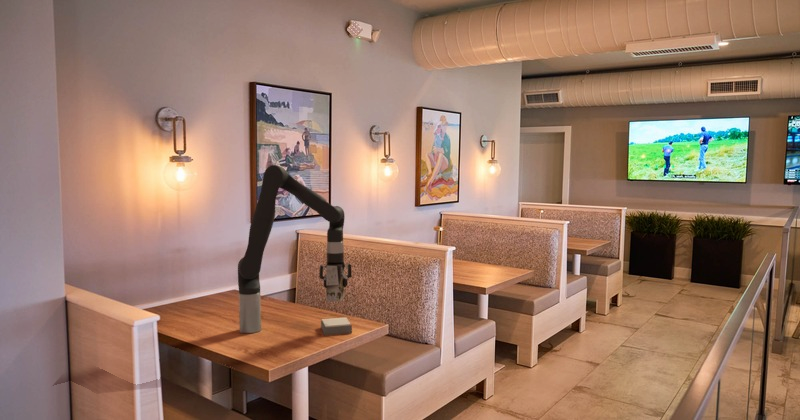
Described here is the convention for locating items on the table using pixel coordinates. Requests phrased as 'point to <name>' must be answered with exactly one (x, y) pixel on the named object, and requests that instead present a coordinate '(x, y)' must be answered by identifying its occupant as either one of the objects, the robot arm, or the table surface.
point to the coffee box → (334, 283)
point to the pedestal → (336, 326)
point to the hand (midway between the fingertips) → (335, 287)
